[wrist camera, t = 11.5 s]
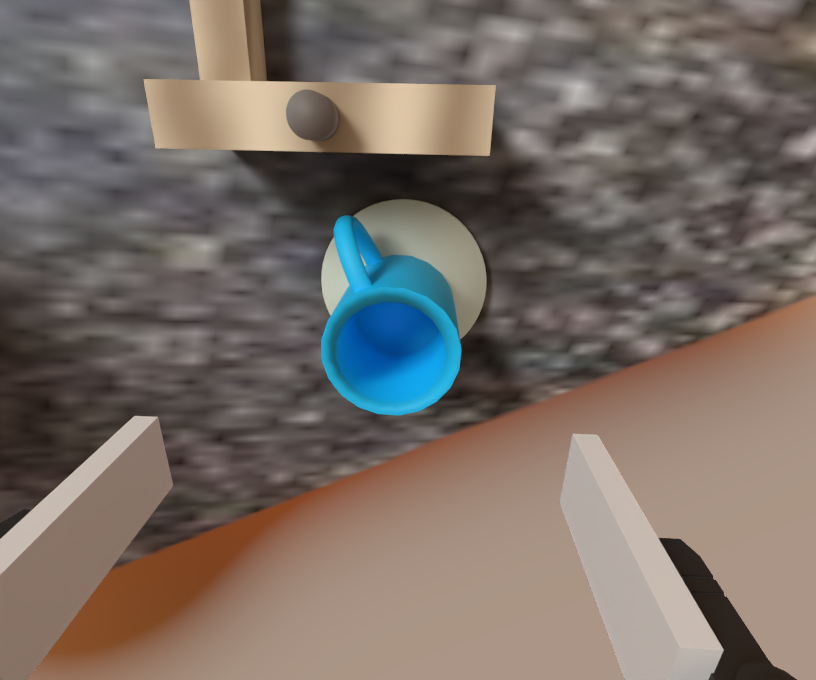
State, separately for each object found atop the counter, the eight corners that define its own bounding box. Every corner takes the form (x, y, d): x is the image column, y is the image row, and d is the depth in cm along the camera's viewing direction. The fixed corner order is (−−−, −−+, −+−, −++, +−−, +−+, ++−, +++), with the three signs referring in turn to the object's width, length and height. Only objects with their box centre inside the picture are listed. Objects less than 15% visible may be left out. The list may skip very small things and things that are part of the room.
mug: (471, 336, 35) (482, 388, 27) (374, 373, 36) (359, 432, 29) (406, 182, 31) (398, 194, 23) (300, 232, 32) (260, 258, 25)
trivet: (327, 353, 37) (325, 357, 36) (319, 196, 32) (316, 197, 31) (478, 359, 36) (479, 363, 36) (492, 201, 32) (494, 202, 31)
